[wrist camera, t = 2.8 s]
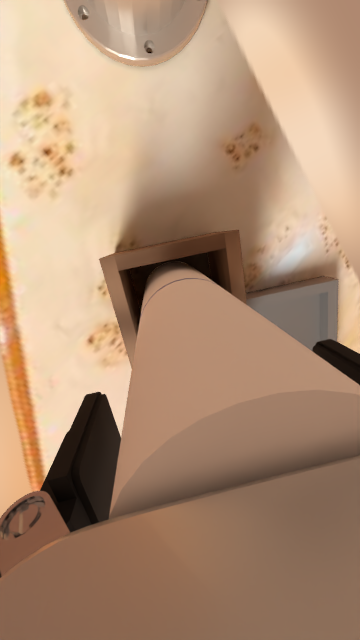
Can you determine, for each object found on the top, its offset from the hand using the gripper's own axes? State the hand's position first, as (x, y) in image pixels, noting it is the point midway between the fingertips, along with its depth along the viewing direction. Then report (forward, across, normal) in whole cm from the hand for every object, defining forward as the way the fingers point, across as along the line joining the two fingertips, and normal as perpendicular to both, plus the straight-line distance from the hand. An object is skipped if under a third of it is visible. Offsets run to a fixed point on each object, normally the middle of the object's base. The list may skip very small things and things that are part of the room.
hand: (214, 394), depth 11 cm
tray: (+20, -13, +9) cm, 25 cm away
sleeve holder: (+19, 0, -1) cm, 19 cm away
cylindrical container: (+20, 0, -1) cm, 20 cm away
